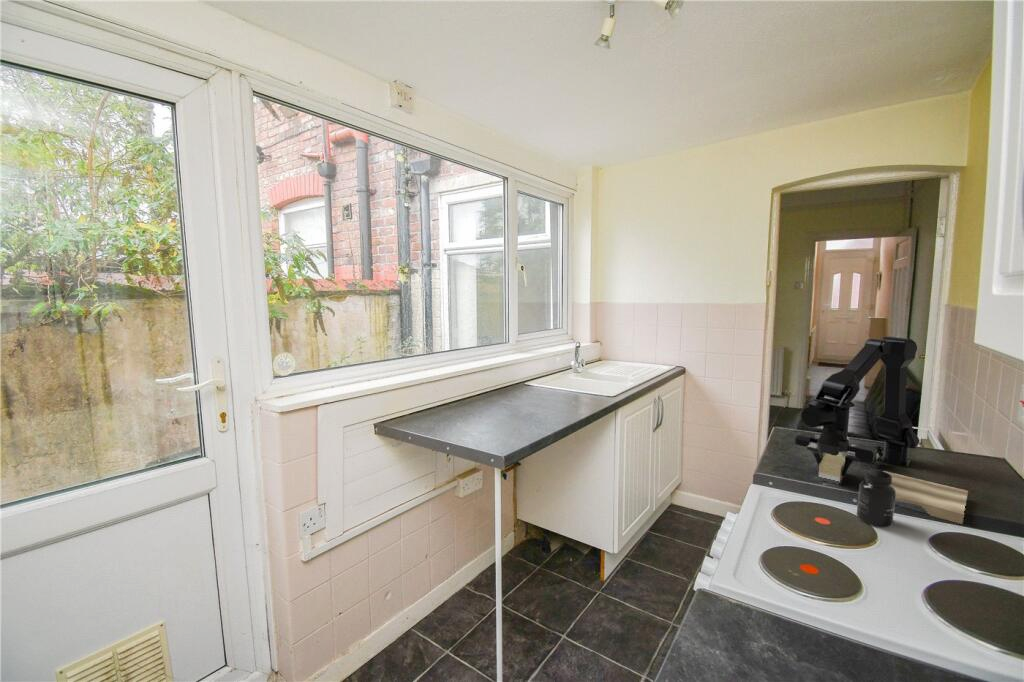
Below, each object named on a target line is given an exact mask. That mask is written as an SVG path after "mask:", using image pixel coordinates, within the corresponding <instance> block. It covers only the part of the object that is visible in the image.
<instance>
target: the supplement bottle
mask: <svg viewBox="0 0 1024 682" xmlns="http://www.w3.org/2000/svg"><path fill="white" fill-rule="evenodd" d="M864 478H865V479H864V480H862V481H861V482H859V485H858V486H859V487H858V494H857V496H858V497H857V507H856V516H857V518H858V519H859V521H862V522H863V523H865V524H868V525H870V526H874V527H878V528H889V527H891V526H892V525H893V523H894V515H895V498H896V491H895V489H894V488H893V487H892V486H891V484H892V476H891V475H890V474H888V473H885V472H883V471H882V470H878V469H867V470H866V471H865V476H864Z"/></svg>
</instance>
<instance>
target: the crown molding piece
mask: <svg viewBox="0 0 1024 682" xmlns="http://www.w3.org/2000/svg"><path fill="white" fill-rule="evenodd" d="M882 472H885V473H888V474H890V475H891V476H892V484H891V486H892V487H893V488H894V489H895V491H896V498H895V499H898V500H902V501H906V502H909V503H912V504H916V505H919V506H922V508H924V509H925V511H927V513H928V514H930V515H929V516H932V517H934V518H939V519H942V520H945V521H950V522H954V523H957V524H959V525H963V523H964V519H963V518H964V517H965V513H964V511H966V508H965V506H967V502H966V501H968V496H969V494H968V493H969V490H965V489H962V488H957V487H952V486H950V485H944V484H940V483H936V482H932V481H928V480H924V479H919V478H916V477H910V476H906V475H902V474H898V473H895V472H894V473H893V472H890V471H886V470H883V471H882Z"/></svg>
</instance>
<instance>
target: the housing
mask: <svg viewBox="0 0 1024 682" xmlns="http://www.w3.org/2000/svg"><path fill="white" fill-rule="evenodd" d="M844 463H845V457H840V456H834V455H831V454H828V453H824V455H823V459H822V461H821V462H820V464H819V467H818V476H819V477H822V478H827V479H831V480H835V481H839V482H840V480H841V478H842V471H843V467H844ZM818 476H817V477H818Z"/></svg>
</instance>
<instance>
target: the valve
mask: <svg viewBox="0 0 1024 682" xmlns="http://www.w3.org/2000/svg"><path fill="white" fill-rule="evenodd" d="M847 440H848V441H849V442H850V438H849V437H848V436H847ZM850 445H851V446H856V445H855V444H850ZM874 447H875V448H876V449H877V456H876V457H875V459H874V460H873V461H871V462H870V465H871V466H873V467H876V468H878V467H879V465H880V464H882V462H881V461H882V460H881V458H882V456H883V454H884V452H883V451H884V447H883V446H880V445H874ZM847 454H848V452H839V454H838V455H836V456H840V457H846V455H847ZM879 463H880V464H879Z"/></svg>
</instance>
